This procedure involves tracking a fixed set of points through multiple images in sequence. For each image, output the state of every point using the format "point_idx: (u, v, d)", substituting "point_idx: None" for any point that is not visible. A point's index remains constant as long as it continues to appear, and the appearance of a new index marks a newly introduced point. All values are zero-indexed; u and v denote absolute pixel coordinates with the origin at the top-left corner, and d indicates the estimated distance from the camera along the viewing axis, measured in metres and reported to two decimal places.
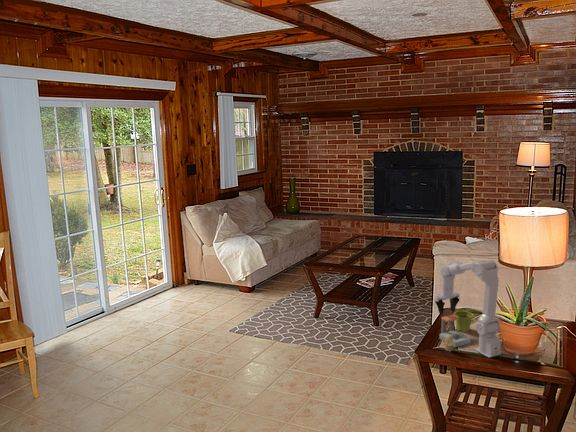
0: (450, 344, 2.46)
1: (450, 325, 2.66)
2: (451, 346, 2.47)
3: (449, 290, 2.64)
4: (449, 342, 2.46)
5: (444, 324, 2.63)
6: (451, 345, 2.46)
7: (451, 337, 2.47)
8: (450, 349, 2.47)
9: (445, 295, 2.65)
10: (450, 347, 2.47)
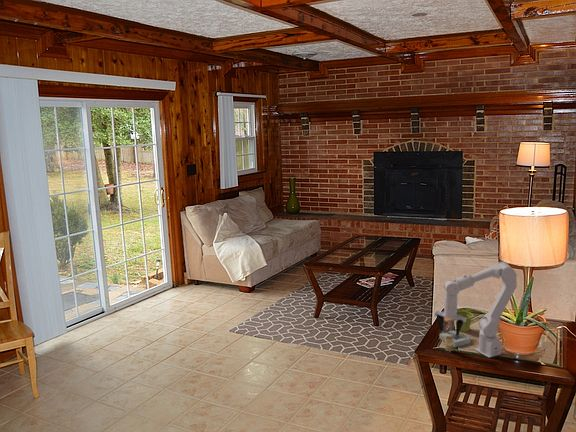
0: (450, 344, 2.46)
1: (450, 325, 2.66)
2: (451, 346, 2.47)
3: (446, 308, 2.43)
4: (449, 342, 2.46)
5: (444, 324, 2.63)
6: (451, 345, 2.46)
7: (451, 337, 2.47)
8: (450, 349, 2.47)
9: (444, 312, 2.45)
10: (450, 347, 2.47)
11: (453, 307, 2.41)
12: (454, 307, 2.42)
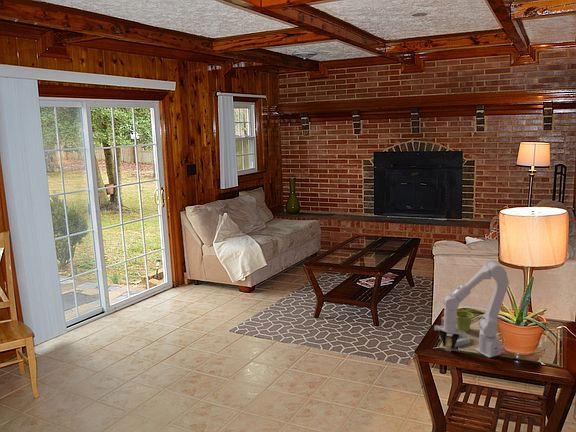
0: (450, 344, 2.46)
1: None
2: (451, 346, 2.47)
3: (446, 323, 2.44)
4: (449, 342, 2.46)
5: None
6: (451, 345, 2.46)
7: (451, 337, 2.47)
8: (450, 349, 2.47)
9: (443, 327, 2.47)
10: (450, 347, 2.47)
11: (452, 322, 2.43)
12: (453, 322, 2.43)
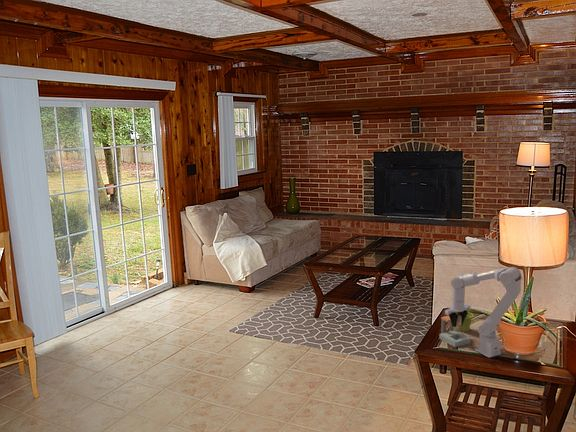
0: None
1: (450, 325, 2.66)
2: None
3: (460, 302, 2.50)
4: (460, 321, 2.54)
5: (444, 324, 2.63)
6: None
7: (459, 316, 2.55)
8: (460, 327, 2.55)
9: (456, 308, 2.51)
10: None
11: (457, 300, 2.50)
12: (458, 301, 2.50)
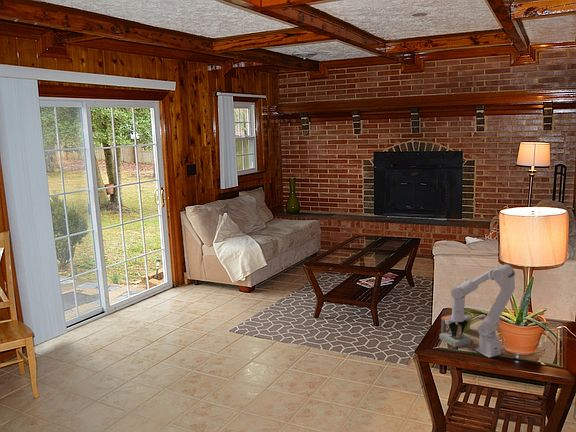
0: (460, 332, 2.56)
1: None
2: None
3: (460, 312, 2.52)
4: (460, 330, 2.55)
5: (444, 324, 2.63)
6: None
7: (459, 325, 2.56)
8: (460, 337, 2.56)
9: (456, 318, 2.53)
10: (460, 335, 2.56)
11: (456, 310, 2.52)
12: (457, 311, 2.52)
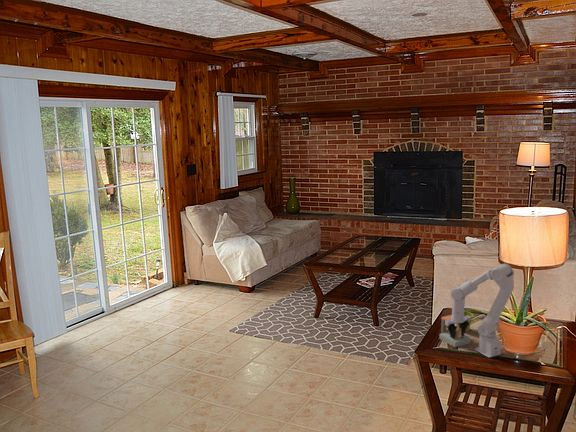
0: (460, 335, 2.56)
1: None
2: None
3: (460, 314, 2.52)
4: (460, 333, 2.55)
5: (444, 324, 2.63)
6: None
7: (459, 328, 2.57)
8: None
9: (456, 319, 2.53)
10: (460, 338, 2.56)
11: (456, 312, 2.52)
12: (457, 312, 2.52)
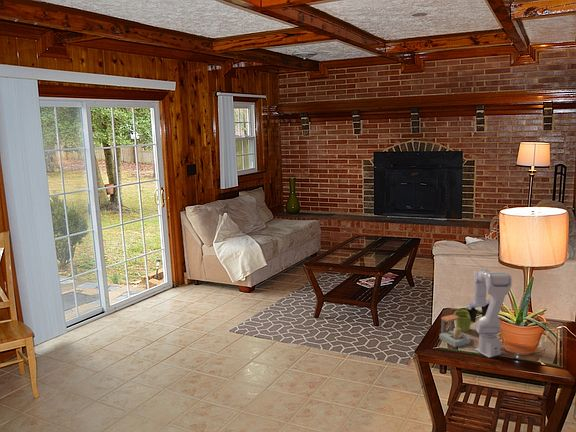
0: (460, 335, 2.56)
1: (450, 325, 2.66)
2: None
3: (482, 297, 2.53)
4: (460, 333, 2.55)
5: (444, 324, 2.63)
6: None
7: (459, 328, 2.57)
8: None
9: (478, 302, 2.55)
10: (460, 338, 2.56)
11: (474, 294, 2.56)
12: (475, 294, 2.55)
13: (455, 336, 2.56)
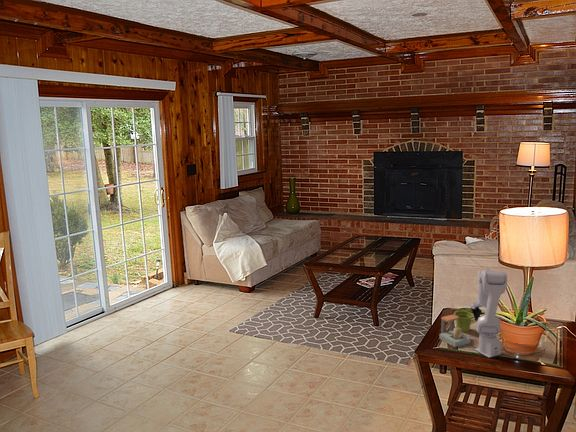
0: (460, 335, 2.56)
1: (450, 325, 2.66)
2: None
3: (486, 297, 2.54)
4: (460, 333, 2.55)
5: (444, 324, 2.63)
6: None
7: (459, 328, 2.57)
8: None
9: (482, 302, 2.55)
10: (460, 338, 2.56)
11: (478, 293, 2.56)
12: (479, 294, 2.56)
13: (455, 336, 2.56)
